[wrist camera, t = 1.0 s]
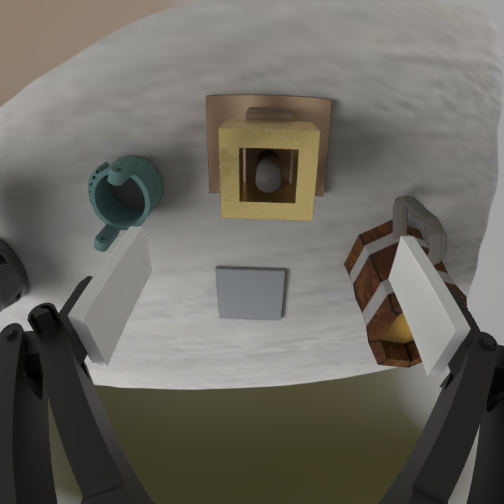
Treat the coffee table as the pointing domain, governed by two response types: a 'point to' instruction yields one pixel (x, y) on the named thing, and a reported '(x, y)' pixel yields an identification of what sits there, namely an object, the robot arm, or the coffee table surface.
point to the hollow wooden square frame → (247, 193)
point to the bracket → (110, 207)
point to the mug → (379, 287)
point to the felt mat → (250, 293)
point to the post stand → (267, 159)
